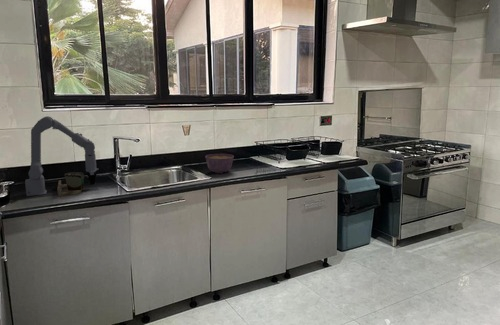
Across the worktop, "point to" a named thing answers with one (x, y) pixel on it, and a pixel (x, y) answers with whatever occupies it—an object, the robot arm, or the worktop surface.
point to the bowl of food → (219, 162)
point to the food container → (74, 181)
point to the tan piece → (66, 191)
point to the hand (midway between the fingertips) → (92, 184)
